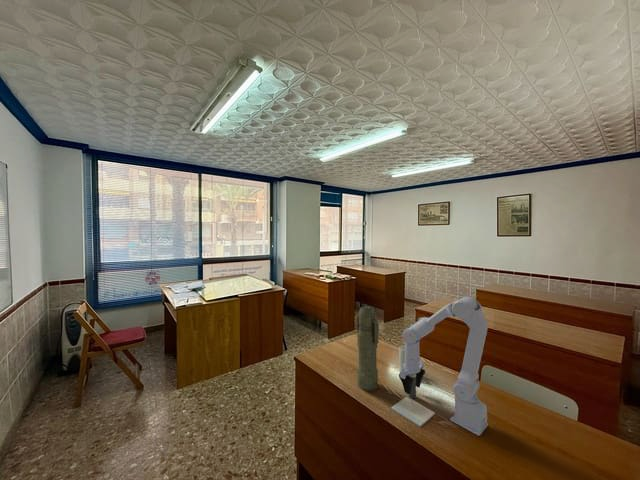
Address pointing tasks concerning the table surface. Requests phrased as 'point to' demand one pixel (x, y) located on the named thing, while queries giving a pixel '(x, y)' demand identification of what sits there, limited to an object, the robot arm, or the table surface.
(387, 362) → the table surface
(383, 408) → the table surface
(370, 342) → the thermos
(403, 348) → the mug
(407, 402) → the notepad
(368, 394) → the table surface
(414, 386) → the cylinder
